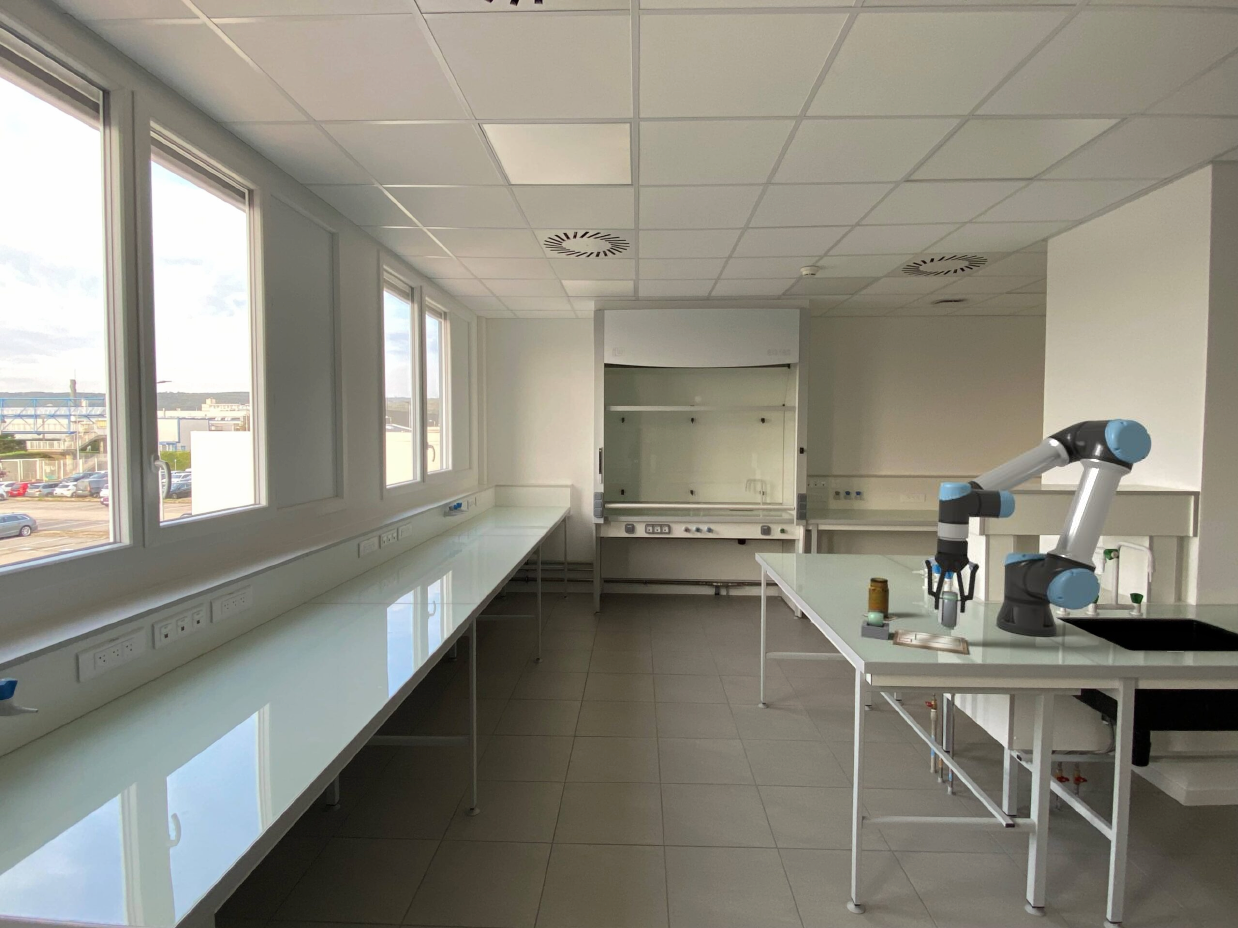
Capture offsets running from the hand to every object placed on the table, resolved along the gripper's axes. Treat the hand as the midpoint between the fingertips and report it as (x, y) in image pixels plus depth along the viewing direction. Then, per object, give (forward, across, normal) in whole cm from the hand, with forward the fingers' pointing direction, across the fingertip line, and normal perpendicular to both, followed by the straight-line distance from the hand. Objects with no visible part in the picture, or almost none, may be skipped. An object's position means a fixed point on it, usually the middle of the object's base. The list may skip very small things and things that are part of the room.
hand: (948, 622), depth 175 cm
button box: (+6, +19, +1) cm, 20 cm away
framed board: (+6, +5, +1) cm, 8 cm away
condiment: (+6, +19, -21) cm, 29 cm away
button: (+3, +19, +1) cm, 19 cm away
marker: (+2, 0, 0) cm, 2 cm away
